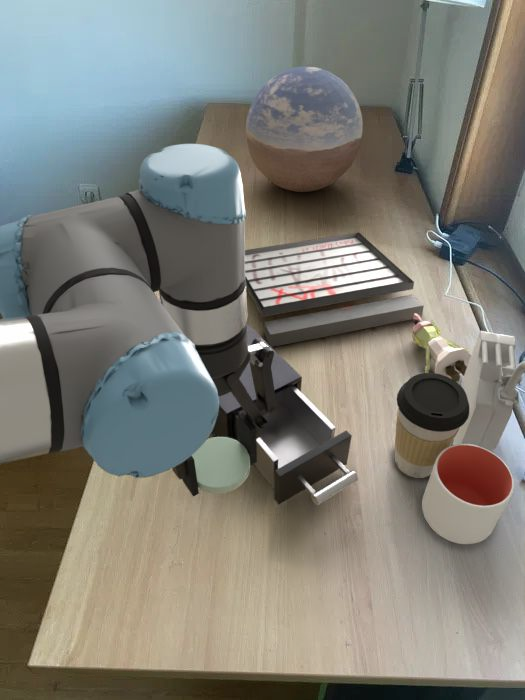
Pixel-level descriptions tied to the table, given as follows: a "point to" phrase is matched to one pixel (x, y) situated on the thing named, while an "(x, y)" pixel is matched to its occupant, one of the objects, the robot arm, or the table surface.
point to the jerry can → (490, 390)
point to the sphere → (304, 129)
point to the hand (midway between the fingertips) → (220, 470)
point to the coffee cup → (427, 421)
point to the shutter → (326, 287)
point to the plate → (221, 465)
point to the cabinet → (281, 380)
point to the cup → (466, 493)
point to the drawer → (300, 449)
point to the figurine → (440, 350)
